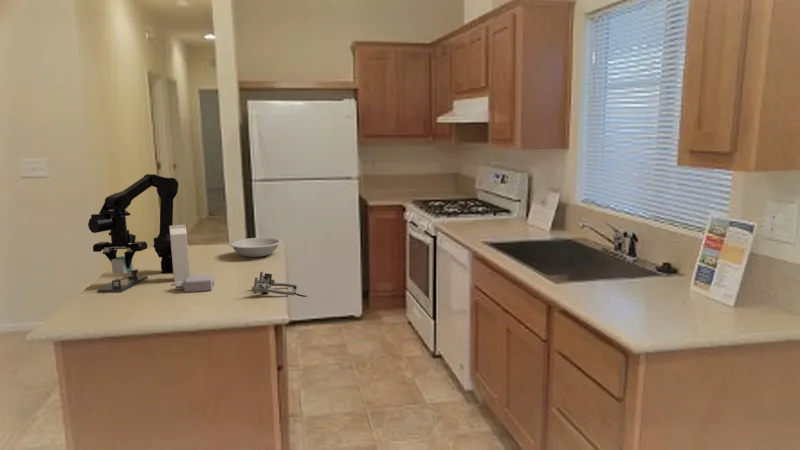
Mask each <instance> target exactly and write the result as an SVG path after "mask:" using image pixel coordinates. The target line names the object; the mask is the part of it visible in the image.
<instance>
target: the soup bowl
mask: <svg viewBox="0 0 800 450" xmlns="http://www.w3.org/2000/svg"><path fill="white" fill-rule="evenodd" d="M282 242H283V240H281V239H279V238H275V237H252V238H251V237H250V238H242V239H236V240H233V241H231V242H229V244H228V245H229V247H231V248H233V250H234V251H235V252H236V253H237V254H238V255H241V256H243V257H249V258H257V257H265V256H268V255H271V254H272V253H274V252H275V251H276V250H277V248H278V246H279V245H280V244H282Z"/></svg>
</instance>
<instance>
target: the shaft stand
mask: <svg viewBox="0 0 800 450" xmlns="http://www.w3.org/2000/svg"><path fill="white" fill-rule="evenodd" d="M138 274H139V268H133V269H132V270H130V271H128V272H126V275H124V276H122V277H121V278H119V277H118V278H117V277H116V278H114V279H112V280H111V283H109V284H106V285H105V286H103V287H101V288H98V289H97V293H123V292H125V291H127V290H129V289H131V288H132V287H134V286H136V285H138V284H140V283H142V282H144V281H145V280H147V279H148V278H149V276H148V275H138Z"/></svg>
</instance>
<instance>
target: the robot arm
mask: <svg viewBox="0 0 800 450" xmlns="http://www.w3.org/2000/svg"><path fill="white" fill-rule="evenodd" d="M151 187H154V188H156V193H157V195H158V197H159V199H160V203H159V205H160V209H159V233H158V235H157V237H154V238H153V245H152V247H153V248H154V252H156V254H157V256H158V258H160V259H161V261H160V268H161V269H160V273H161V274H173V264H172V252H171V241H170V227H169V226H171V225H173V224H174V223H173V222H174V199H175V197H176V196H177V194H178V190H179V182H178V180H177V179H176V177H175V178H174V177H164V176H159V175H157V174H152V173H148V174H147V173H146V174H144V175H143V177H141V178H140V179H138V180H137V181H135V182H134V183H133V184H131V185H129V186H128V187H126V189H124V190H121V191H119V192H114V193H112V194H111V195H108V196H106V197H105V198H104V203H103V205H102V206H101V209H100V210H99V212H98V214H95V213H94V214H91V215H90V218H89V220H88V223H87V225H88V230H89V231H90V232H91V233H93V234H97V233H98V234H99V233H103V232H107V231H109V232H108V236H110V241H111V242H110V241H99V242H97V243H94V244H93V245H92V251H93V252H94V253H95V252H96V253H99V252H100V253H102V255H103V254H104V255H105V256H106V258H107V259H108V260H109V261H110V262H111V260H112V259H114V258H117V257H118V256H117V252H118V250H126V251H124V252H123V253H124V256H125V260H126V266H127V269H129V268H130V265H131V261H132V262H133V258H134V255H135V253H137V252H141V251H142V252H143V251H145V250H147V249H148V243H147V242H146V241H136V238H137V236H136V235H135V234H133V233H130V231H129V229H128V228H127V227H128V226H127V218H126V217H127V216H128V217H129V216H131V213H130V212H129V211H127V208H128V207H129V206H130V205H131V203H132V201H133V200H134V199H135V198H137V197H138V196H139V195H141V194H142V193H144V192H145V191H147V190H148V189H150V188H151Z"/></svg>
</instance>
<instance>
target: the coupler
mask: <svg viewBox="0 0 800 450" xmlns="http://www.w3.org/2000/svg"><path fill="white" fill-rule="evenodd" d="M110 262H111V270H112V271H111V272H112V275H115V274H116V275H117V274H118V275H120V274H121V275H125V274H127V272H128V271H130V270H133V269H134V267H133V266H134V265H133V260H132V261H131V265H130V268H129V269H127V266H126V260H125V255H120V256H117V258H114V259H112V260H111V261H110Z"/></svg>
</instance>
